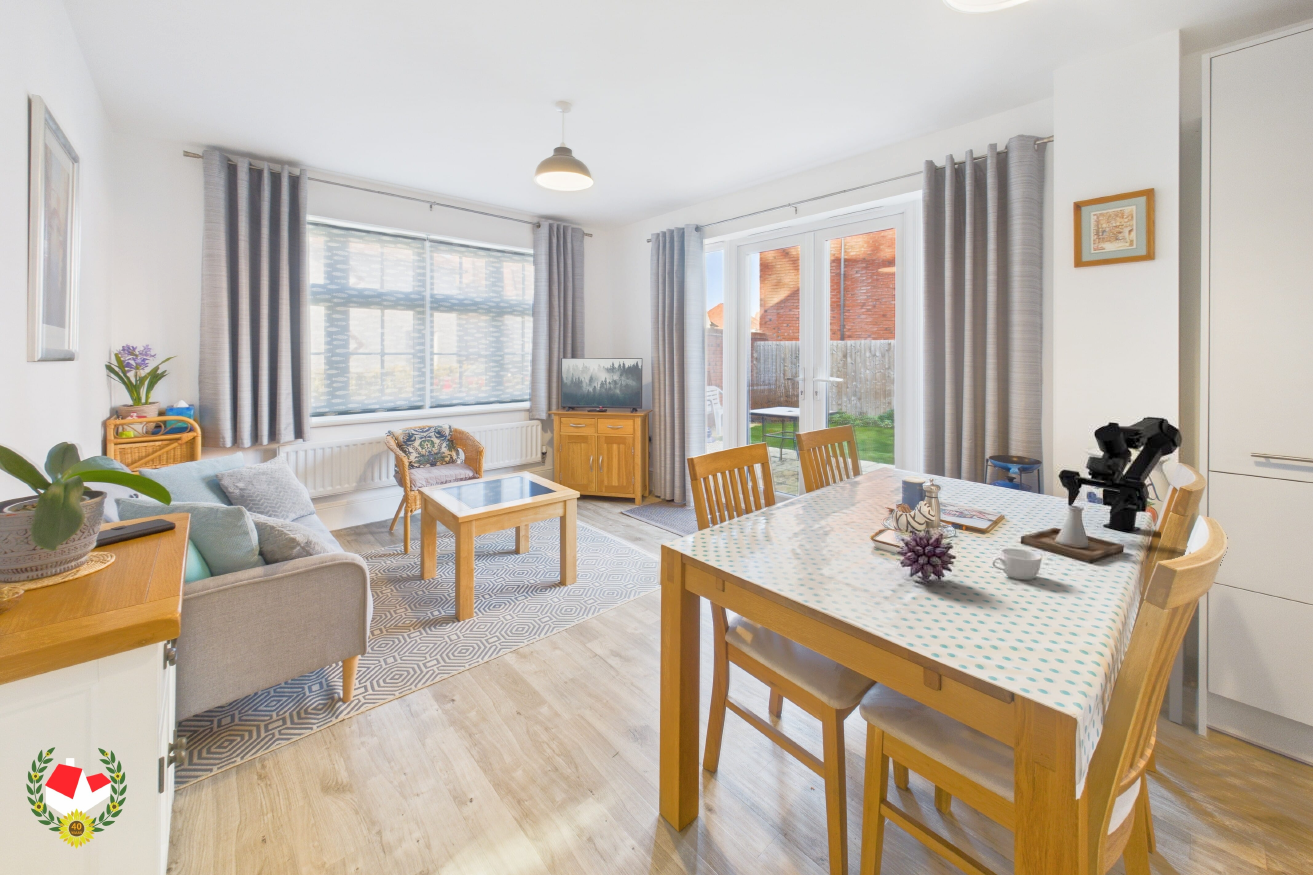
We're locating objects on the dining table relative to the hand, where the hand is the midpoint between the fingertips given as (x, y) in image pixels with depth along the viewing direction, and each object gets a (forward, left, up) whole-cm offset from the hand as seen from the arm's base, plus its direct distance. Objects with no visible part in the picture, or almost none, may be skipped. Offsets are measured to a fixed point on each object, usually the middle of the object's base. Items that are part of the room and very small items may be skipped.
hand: (1089, 509), depth 144 cm
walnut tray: (+8, +1, -9) cm, 12 cm away
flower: (+60, -3, -9) cm, 61 cm away
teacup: (+40, +5, -9) cm, 42 cm away
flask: (+8, +1, -8) cm, 12 cm away
